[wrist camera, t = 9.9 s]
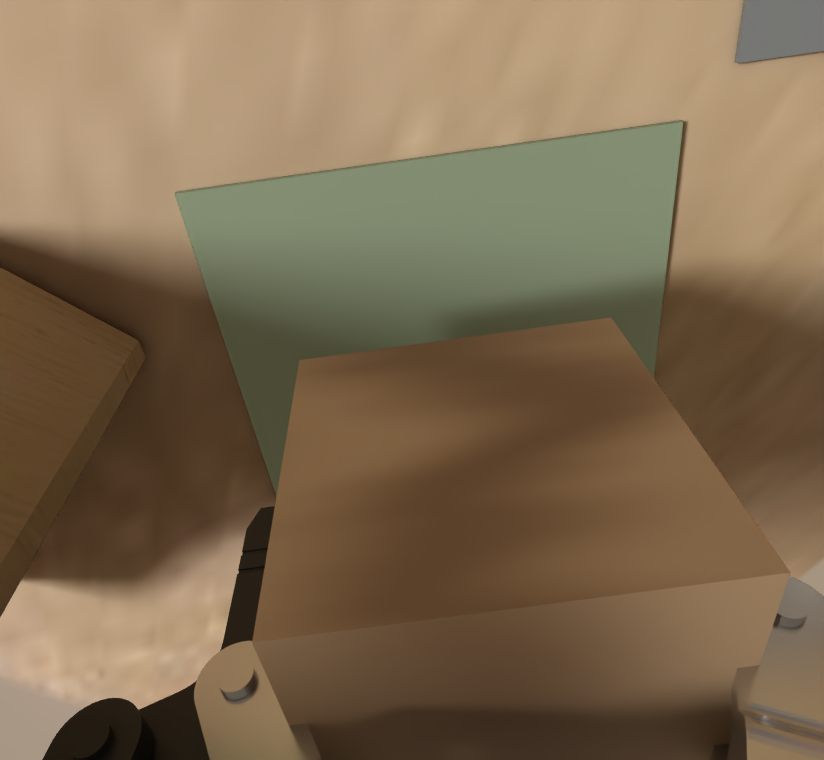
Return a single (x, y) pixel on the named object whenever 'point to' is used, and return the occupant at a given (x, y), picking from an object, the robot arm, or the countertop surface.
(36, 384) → the decorative block
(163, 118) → the countertop surface
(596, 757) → the walnut block
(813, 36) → the tile
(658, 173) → the mat
